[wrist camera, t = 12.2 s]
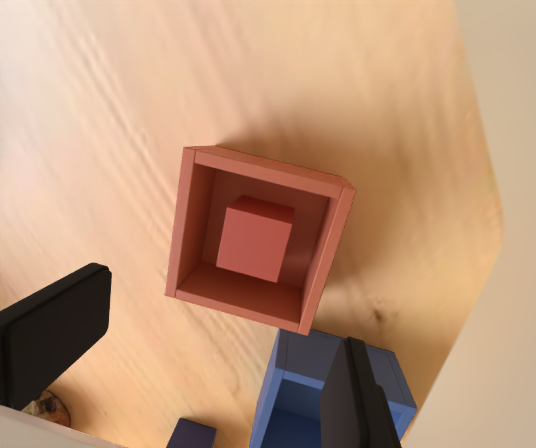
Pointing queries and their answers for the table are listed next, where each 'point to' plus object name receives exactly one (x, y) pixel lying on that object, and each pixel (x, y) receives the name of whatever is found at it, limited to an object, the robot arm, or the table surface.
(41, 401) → the bread roll
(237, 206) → the terracotta block
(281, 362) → the blue bin
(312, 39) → the table surface
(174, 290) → the terracotta bin
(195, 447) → the navy block
